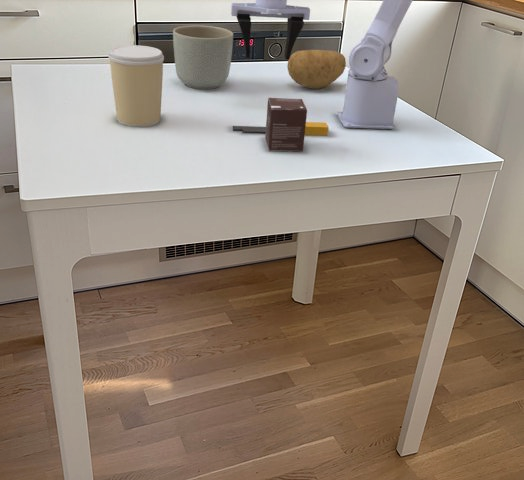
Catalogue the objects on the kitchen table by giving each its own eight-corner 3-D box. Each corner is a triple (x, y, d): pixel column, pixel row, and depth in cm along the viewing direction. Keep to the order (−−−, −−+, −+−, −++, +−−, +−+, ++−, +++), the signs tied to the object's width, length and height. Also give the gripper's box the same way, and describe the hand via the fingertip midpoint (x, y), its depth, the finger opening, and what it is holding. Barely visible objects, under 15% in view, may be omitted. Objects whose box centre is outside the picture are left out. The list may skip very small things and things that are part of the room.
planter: (204, 74, 145) (205, 23, 139) (243, 87, 138) (245, 34, 132) (161, 82, 137) (160, 28, 132) (199, 96, 131) (200, 41, 125)
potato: (353, 90, 142) (358, 53, 138) (299, 95, 136) (303, 57, 132) (329, 78, 149) (333, 42, 145) (276, 83, 143) (279, 45, 139)
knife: (325, 130, 118) (326, 122, 117) (327, 135, 116) (328, 127, 115) (232, 127, 116) (232, 119, 115) (233, 132, 114) (233, 124, 113)
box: (298, 139, 113) (303, 98, 109) (303, 152, 108) (308, 109, 104) (264, 138, 113) (267, 96, 109) (267, 151, 108) (271, 108, 104)
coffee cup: (174, 117, 119) (174, 50, 112) (146, 132, 111) (144, 60, 105) (132, 108, 122) (129, 42, 115) (101, 121, 114) (96, 51, 108)
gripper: (234, -20, 112) (230, 60, 119) (315, -15, 114) (307, 64, 121) (231, -25, 118) (228, 51, 125) (309, -21, 119) (302, 55, 127)
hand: (267, 57), depth 123 cm, fingers open, 7 cm apart
